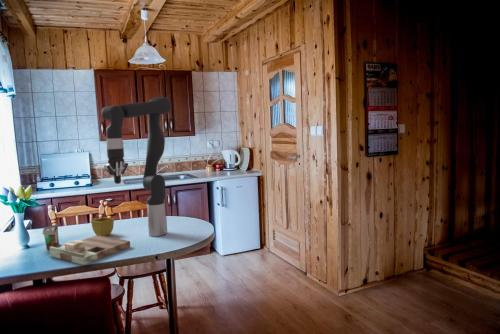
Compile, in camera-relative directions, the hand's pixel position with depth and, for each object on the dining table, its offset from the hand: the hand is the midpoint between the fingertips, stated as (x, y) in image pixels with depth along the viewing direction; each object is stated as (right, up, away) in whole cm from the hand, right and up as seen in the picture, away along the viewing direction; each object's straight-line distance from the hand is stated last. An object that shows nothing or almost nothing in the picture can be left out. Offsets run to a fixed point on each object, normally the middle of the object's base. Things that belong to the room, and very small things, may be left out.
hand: (117, 183), depth 178 cm
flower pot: (-17, -30, +26) cm, 43 cm away
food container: (-36, -33, +7) cm, 49 cm away
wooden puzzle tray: (-12, -33, -1) cm, 35 cm away
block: (-16, -31, -9) cm, 36 cm away
